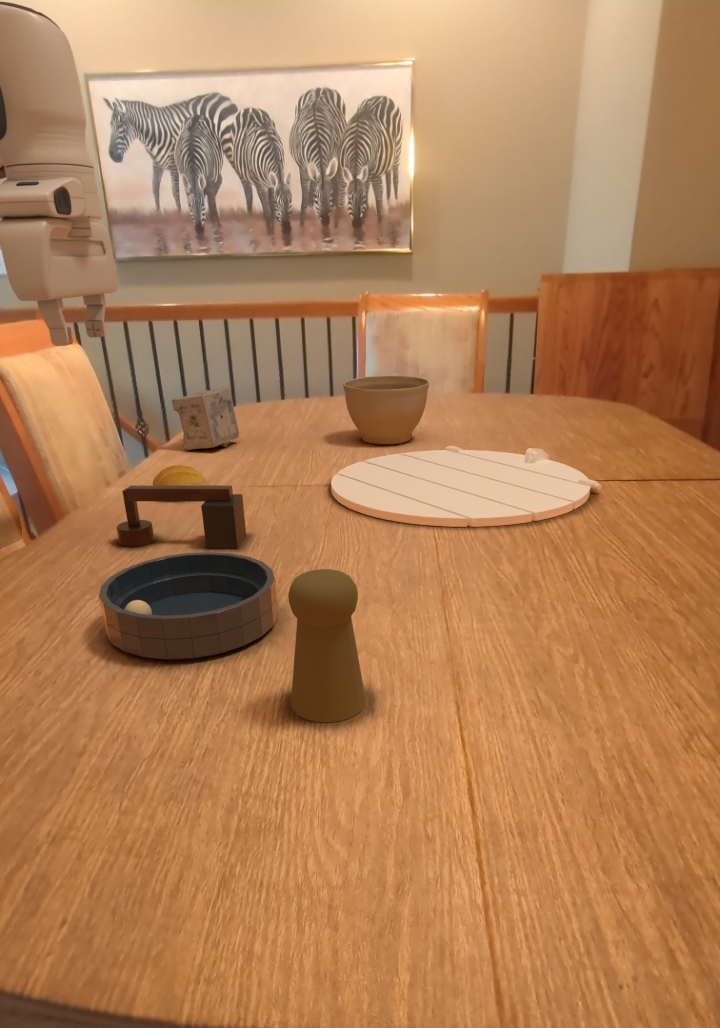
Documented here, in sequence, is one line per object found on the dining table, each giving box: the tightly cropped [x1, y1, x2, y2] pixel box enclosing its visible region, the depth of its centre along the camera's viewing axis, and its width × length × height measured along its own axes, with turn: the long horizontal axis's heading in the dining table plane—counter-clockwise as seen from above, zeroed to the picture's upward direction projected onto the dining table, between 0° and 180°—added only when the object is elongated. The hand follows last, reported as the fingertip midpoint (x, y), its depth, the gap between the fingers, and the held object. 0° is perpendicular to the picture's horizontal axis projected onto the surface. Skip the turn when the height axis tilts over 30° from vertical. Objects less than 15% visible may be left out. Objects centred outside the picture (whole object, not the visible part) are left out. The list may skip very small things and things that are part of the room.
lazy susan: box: [330, 445, 603, 528], centre depth 116 cm, size 40×39×3 cm
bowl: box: [98, 551, 279, 661], centre depth 73 cm, size 16×16×4 cm
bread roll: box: [152, 464, 210, 486], centre depth 115 cm, size 8×9×4 cm
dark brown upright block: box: [200, 493, 247, 550], centre depth 95 cm, size 4×5×6 cm
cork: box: [287, 568, 366, 724], centre depth 58 cm, size 6×6×11 cm
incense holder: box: [171, 386, 240, 451], centre depth 143 cm, size 10×8×10 cm
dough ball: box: [124, 600, 152, 615], centre depth 73 cm, size 3×3×3 cm
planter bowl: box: [342, 375, 430, 445], centre depth 144 cm, size 16×16×11 cm
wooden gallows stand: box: [116, 485, 234, 548], centre depth 95 cm, size 15×4×7 cm, turn 85°
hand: (80, 341), depth 86 cm, fingers open, 8 cm apart
